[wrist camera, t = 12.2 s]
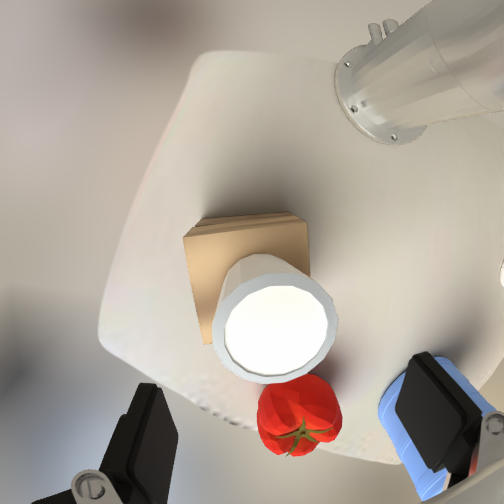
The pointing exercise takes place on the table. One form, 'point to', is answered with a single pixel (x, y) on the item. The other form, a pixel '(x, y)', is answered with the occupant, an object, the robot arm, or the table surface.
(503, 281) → the cosmetic bottle
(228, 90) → the table surface
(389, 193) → the table surface
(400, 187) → the table surface
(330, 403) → the tomato
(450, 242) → the table surface
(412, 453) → the water jug
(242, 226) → the tower top block
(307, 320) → the white cup
